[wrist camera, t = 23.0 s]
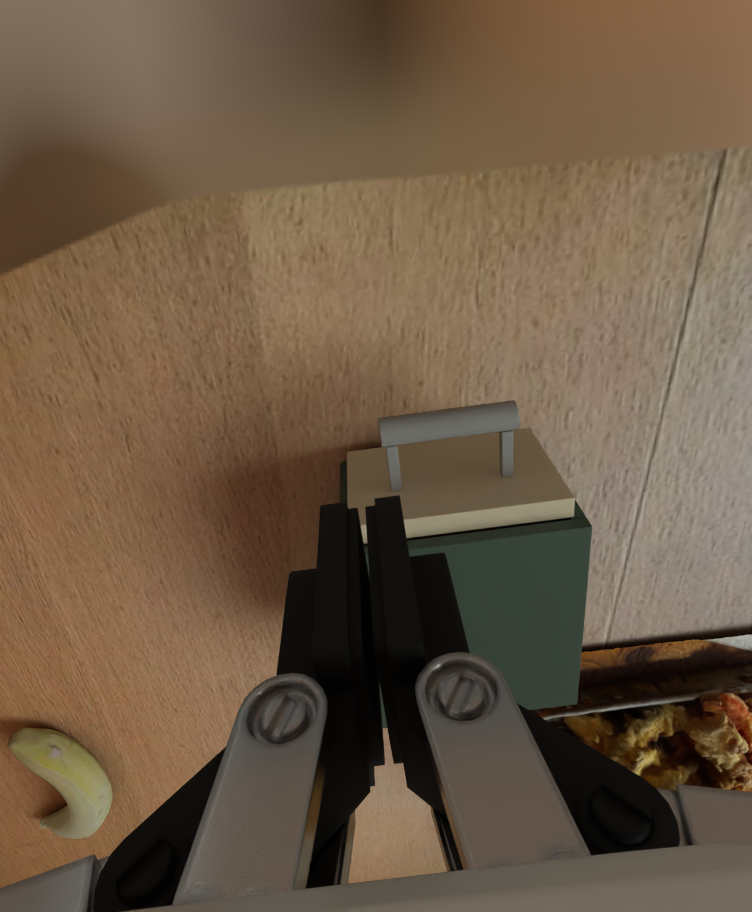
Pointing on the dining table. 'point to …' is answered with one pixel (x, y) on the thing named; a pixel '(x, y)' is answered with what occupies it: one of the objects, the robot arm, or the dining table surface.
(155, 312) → the dining table surface
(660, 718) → the food tray
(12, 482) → the dining table surface
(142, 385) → the dining table surface
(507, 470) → the drawer
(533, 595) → the cabinet
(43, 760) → the fruit
